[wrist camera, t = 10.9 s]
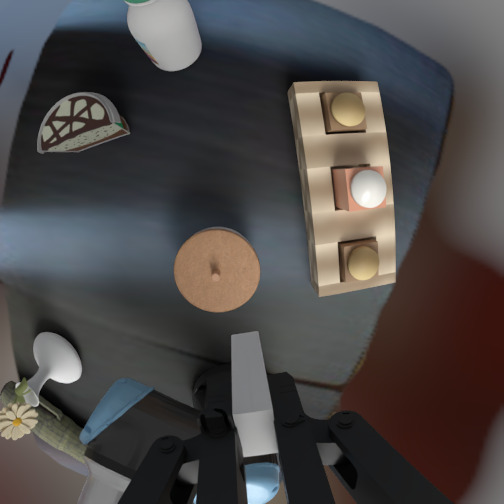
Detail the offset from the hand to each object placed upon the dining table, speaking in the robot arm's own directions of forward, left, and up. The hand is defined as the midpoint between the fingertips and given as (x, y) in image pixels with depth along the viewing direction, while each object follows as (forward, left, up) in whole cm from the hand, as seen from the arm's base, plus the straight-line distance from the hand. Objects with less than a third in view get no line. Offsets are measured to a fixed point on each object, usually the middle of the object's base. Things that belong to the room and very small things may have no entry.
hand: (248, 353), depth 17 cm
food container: (+21, +18, -29) cm, 40 cm away
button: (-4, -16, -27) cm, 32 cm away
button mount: (+6, -16, -29) cm, 33 cm away
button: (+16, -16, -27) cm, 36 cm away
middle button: (+6, -16, -24) cm, 29 cm away
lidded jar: (-2, +3, -29) cm, 29 cm away
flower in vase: (-16, +37, -29) cm, 50 cm away
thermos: (-48, +32, -24) cm, 63 cm away
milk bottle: (+30, +5, -29) cm, 42 cm away
